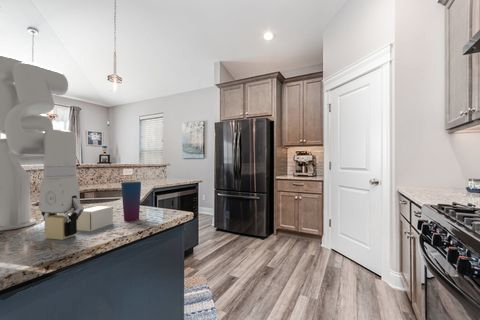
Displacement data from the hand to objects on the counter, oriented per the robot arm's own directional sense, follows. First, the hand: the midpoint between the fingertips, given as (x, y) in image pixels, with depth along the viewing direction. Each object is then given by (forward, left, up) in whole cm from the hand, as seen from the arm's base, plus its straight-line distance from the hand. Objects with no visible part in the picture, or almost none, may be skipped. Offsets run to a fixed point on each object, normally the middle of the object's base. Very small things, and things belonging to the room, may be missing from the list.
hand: (61, 233), depth 66 cm
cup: (+6, +22, -2) cm, 22 cm away
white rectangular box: (0, +11, -1) cm, 11 cm away
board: (0, +6, -2) cm, 6 cm away
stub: (0, 0, -1) cm, 1 cm away
